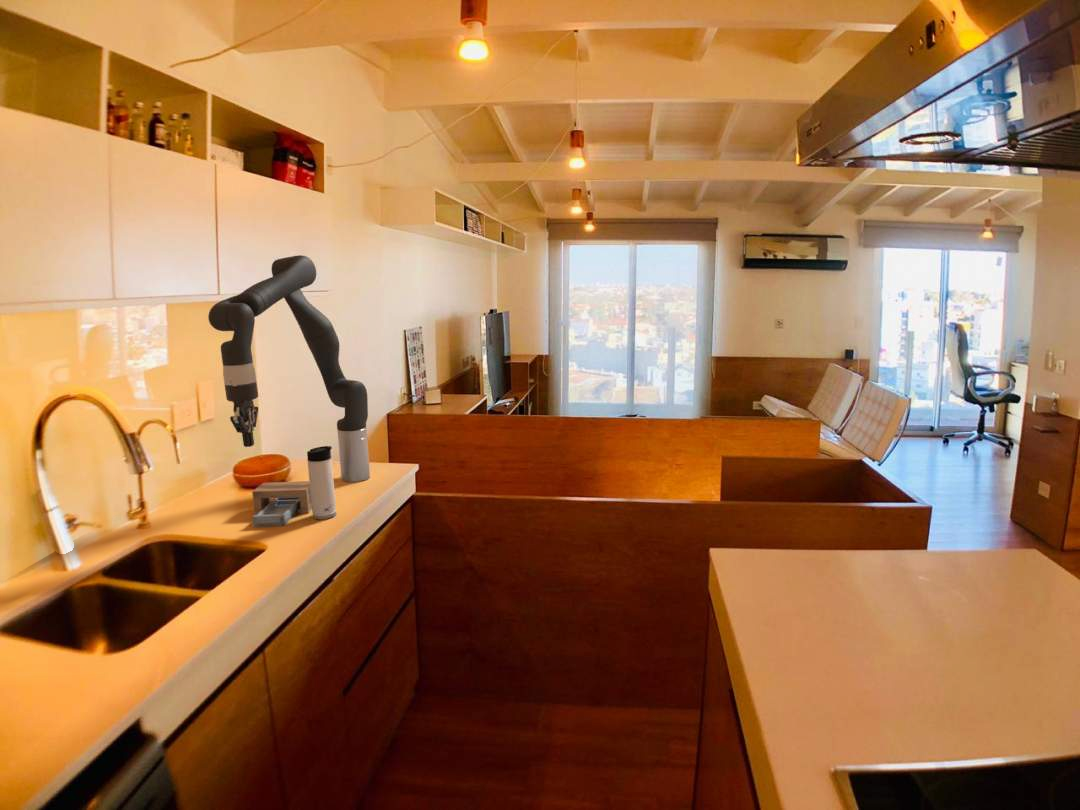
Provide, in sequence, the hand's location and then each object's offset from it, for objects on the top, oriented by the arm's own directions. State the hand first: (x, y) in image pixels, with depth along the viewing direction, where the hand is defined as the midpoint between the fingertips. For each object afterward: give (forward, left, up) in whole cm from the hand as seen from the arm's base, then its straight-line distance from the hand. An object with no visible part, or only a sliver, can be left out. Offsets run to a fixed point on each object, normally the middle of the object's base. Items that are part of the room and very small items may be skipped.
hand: (249, 445), depth 166 cm
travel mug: (-6, +16, -23) cm, 29 cm away
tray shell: (-8, +3, -23) cm, 24 cm away
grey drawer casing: (-13, +3, -23) cm, 26 cm away
